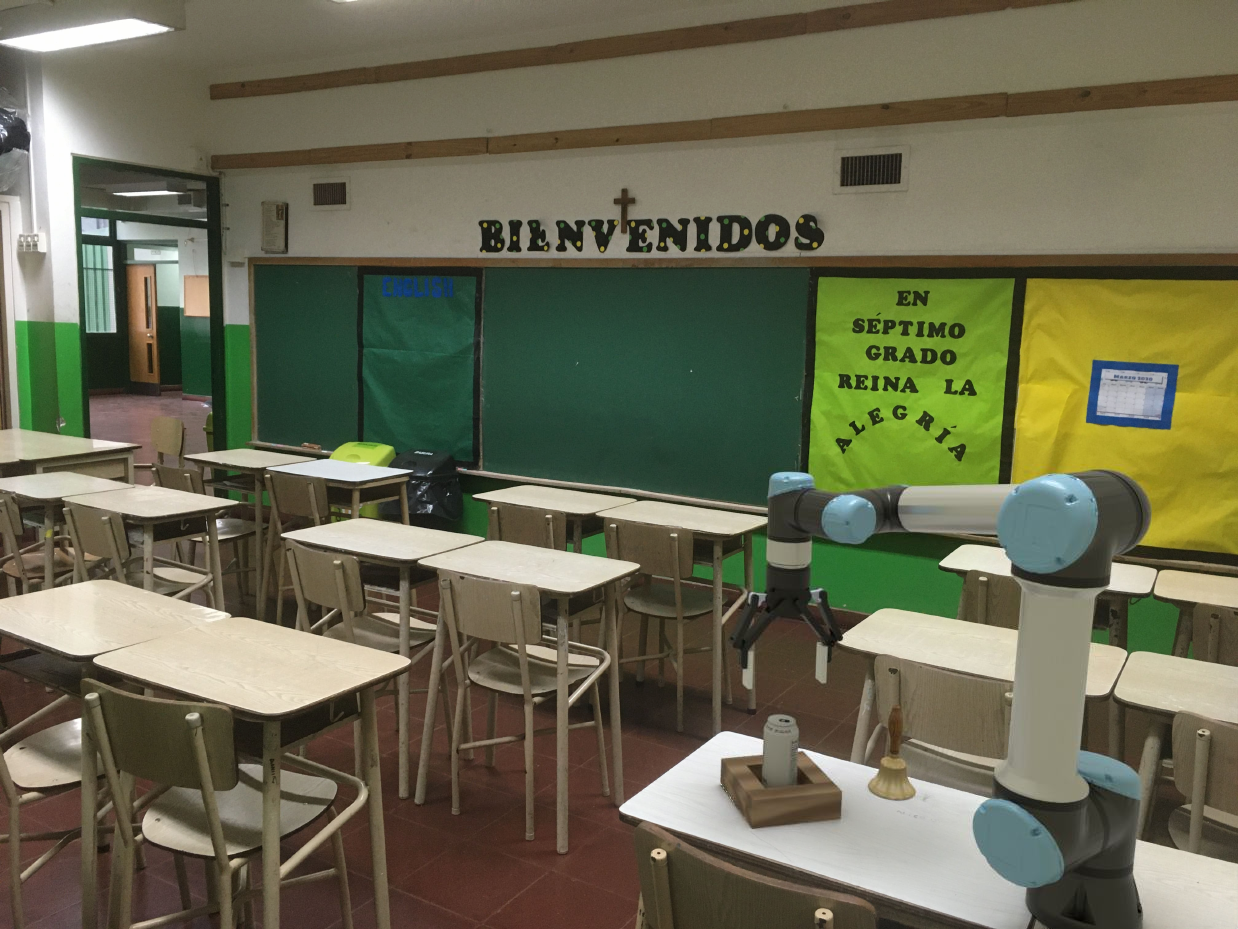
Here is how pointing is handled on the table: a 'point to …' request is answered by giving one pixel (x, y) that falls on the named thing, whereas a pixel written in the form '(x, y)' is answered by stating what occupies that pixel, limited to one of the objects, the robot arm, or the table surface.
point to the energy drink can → (780, 752)
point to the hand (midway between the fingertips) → (784, 683)
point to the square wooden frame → (780, 793)
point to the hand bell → (893, 765)
